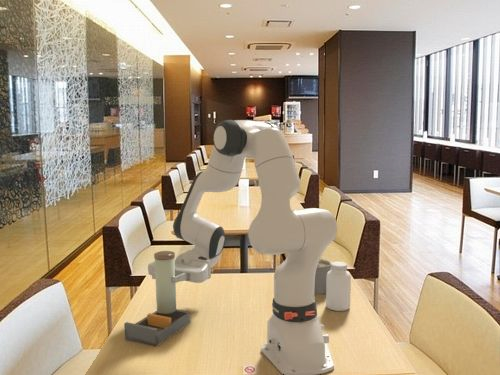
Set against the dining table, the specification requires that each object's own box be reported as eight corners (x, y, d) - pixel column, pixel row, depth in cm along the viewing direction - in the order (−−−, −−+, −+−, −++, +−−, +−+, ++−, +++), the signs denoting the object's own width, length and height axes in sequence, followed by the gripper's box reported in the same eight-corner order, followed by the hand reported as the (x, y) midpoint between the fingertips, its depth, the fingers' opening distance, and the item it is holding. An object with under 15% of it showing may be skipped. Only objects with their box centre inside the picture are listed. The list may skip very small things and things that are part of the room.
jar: (177, 312, 158) (175, 256, 155) (156, 314, 157) (154, 257, 154) (176, 305, 164) (174, 250, 161) (156, 306, 163) (154, 251, 160)
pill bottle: (355, 307, 171) (356, 264, 169) (337, 313, 167) (338, 269, 164) (338, 300, 178) (338, 258, 175) (321, 306, 173) (321, 263, 171)
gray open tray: (161, 316, 167) (161, 301, 166) (190, 322, 162) (189, 307, 161) (125, 339, 151) (124, 323, 150) (155, 346, 146) (154, 330, 146)
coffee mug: (303, 294, 184) (303, 267, 183) (303, 284, 194) (303, 258, 192) (341, 294, 183) (342, 267, 182) (339, 284, 193) (339, 259, 191)
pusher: (150, 323, 159) (149, 313, 159) (171, 327, 156) (171, 317, 155) (147, 324, 158) (147, 314, 158) (169, 329, 155) (168, 319, 154)
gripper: (162, 252, 174) (135, 264, 162) (214, 259, 165) (191, 273, 153) (163, 270, 175) (136, 283, 163) (215, 278, 166) (191, 293, 154)
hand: (163, 278), depth 158 cm, fingers closed on jar, 6 cm apart
